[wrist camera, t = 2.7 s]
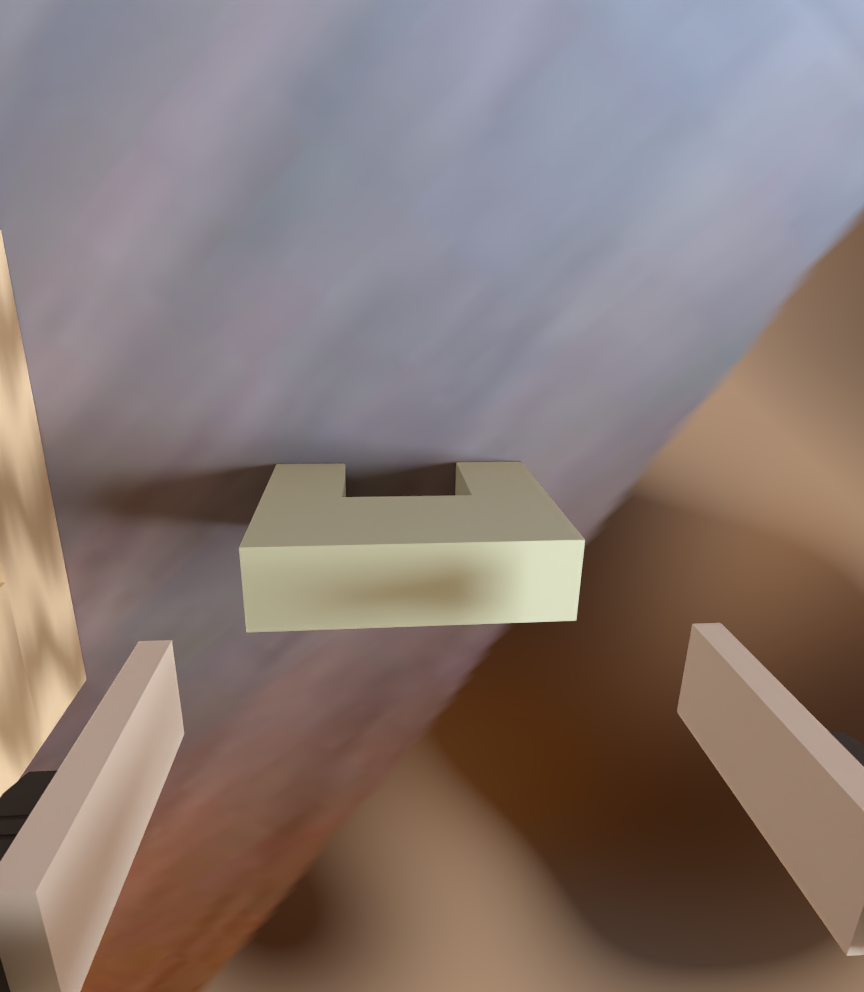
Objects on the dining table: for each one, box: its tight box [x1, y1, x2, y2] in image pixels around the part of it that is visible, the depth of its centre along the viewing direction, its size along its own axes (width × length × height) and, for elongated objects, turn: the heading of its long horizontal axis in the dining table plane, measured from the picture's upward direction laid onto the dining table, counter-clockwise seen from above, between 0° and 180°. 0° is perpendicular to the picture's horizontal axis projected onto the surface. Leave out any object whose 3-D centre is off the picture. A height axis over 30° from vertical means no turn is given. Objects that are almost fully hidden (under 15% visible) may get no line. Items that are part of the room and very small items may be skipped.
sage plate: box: [239, 462, 585, 632], centre depth 25 cm, size 11×3×9 cm, turn 89°
